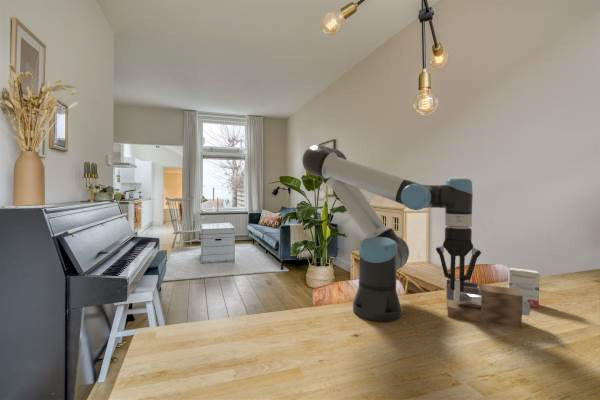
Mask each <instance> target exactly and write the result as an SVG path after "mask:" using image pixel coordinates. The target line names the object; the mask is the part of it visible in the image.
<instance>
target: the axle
mask: <svg viewBox="0 0 600 400" xmlns="http://www.w3.org/2000/svg"><path fill="white" fill-rule="evenodd" d="M459 305H462V306H468V307H475V308H481V295H477V294H469V293H462V292H460V300H459ZM530 313H531V306H530V305H529V302H527V301H522V316H527V317H528V316H530Z"/></svg>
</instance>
